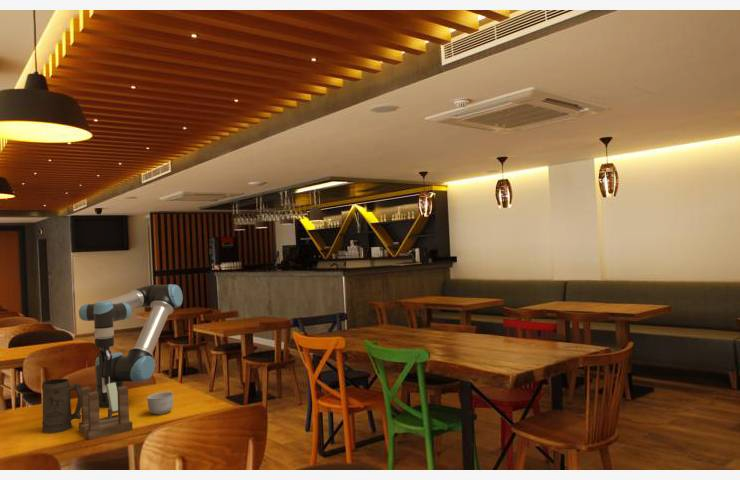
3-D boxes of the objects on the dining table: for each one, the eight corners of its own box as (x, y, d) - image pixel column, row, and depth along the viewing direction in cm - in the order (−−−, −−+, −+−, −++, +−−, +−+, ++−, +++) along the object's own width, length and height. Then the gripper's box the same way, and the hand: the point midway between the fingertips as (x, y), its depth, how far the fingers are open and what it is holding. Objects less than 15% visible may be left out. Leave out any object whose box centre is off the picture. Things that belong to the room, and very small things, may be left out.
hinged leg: (110, 414, 239) (105, 386, 244) (118, 412, 241) (113, 385, 246) (112, 411, 237) (107, 383, 241) (120, 409, 239) (115, 382, 243)
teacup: (165, 416, 247) (164, 398, 247) (142, 416, 249) (141, 397, 249) (182, 407, 260) (181, 389, 260) (160, 407, 262) (159, 389, 262)
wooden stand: (79, 430, 232) (77, 388, 232) (121, 421, 242) (119, 380, 243) (89, 439, 220) (87, 395, 220) (133, 429, 230) (131, 387, 230)
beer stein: (38, 435, 228) (40, 384, 228) (41, 427, 237) (43, 378, 238) (81, 431, 234) (83, 381, 234) (83, 424, 244) (85, 376, 244)
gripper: (91, 336, 252) (92, 390, 252) (99, 340, 242) (100, 396, 242) (109, 334, 257) (111, 387, 257) (117, 337, 247) (119, 392, 247)
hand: (106, 391), depth 249 cm, fingers closed
